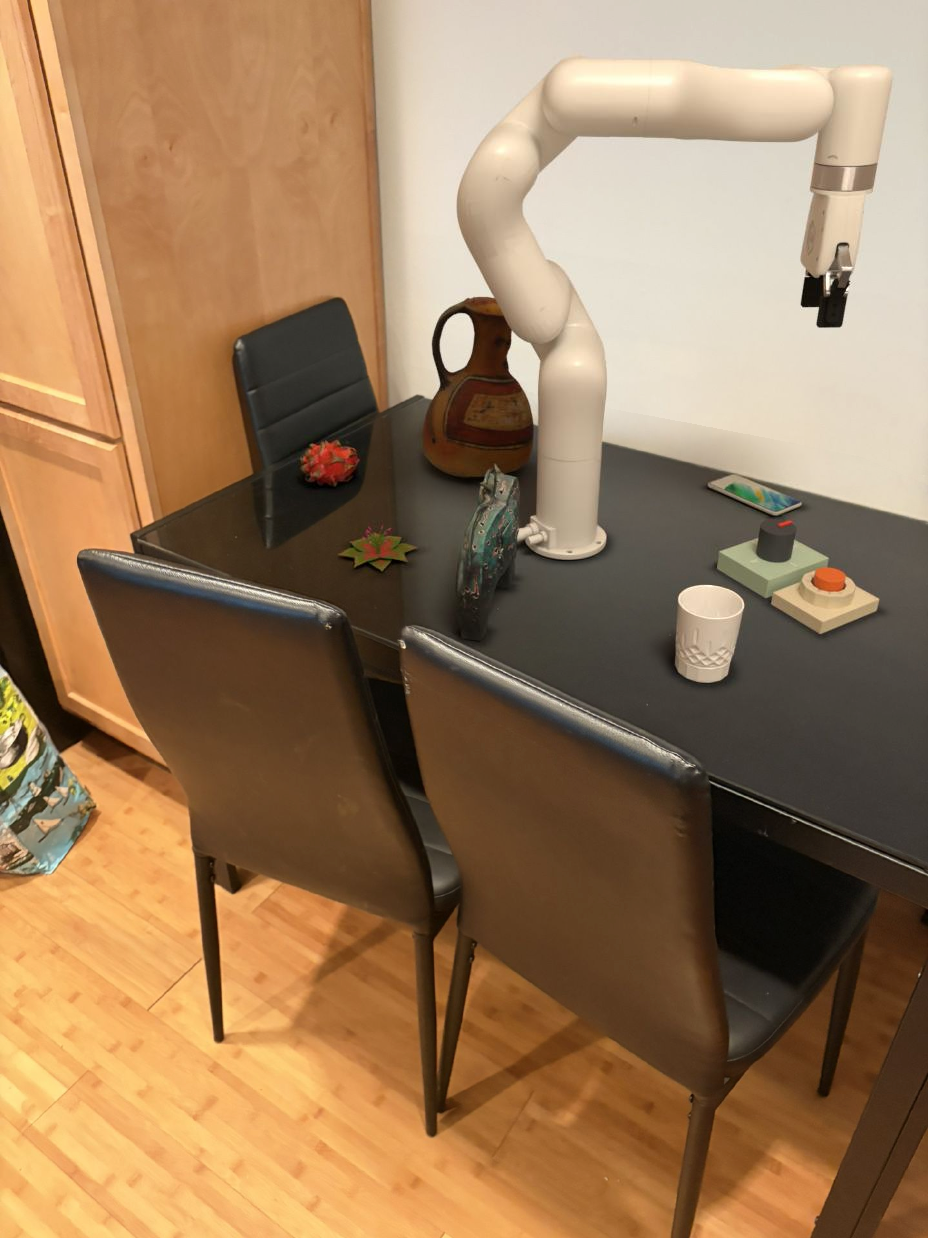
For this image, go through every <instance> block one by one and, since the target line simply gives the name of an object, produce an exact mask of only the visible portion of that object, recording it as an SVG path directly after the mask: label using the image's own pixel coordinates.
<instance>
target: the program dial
mask: <svg viewBox="0 0 928 1238" xmlns="http://www.w3.org/2000/svg"><path fill="white" fill-rule="evenodd" d="M796 535H797V526H796V525H795V524H794V523H793V521H792V520H790V519H789V520H784V519H780V518H777V519H776V518H771V519H766V520H763V521H762V522H761V523H760V525H759V532H758V537H757V538H758V543H757V549H756V554H757V556H758V557H760V558H761V559H763V560H766V561H769V562H785V561H788V560H789V559H790V558H791V556H792V551H793V546H794V540H796Z"/></svg>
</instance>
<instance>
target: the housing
mask: <svg viewBox="0 0 928 1238" xmlns="http://www.w3.org/2000/svg"><path fill="white" fill-rule="evenodd" d="M814 575H815V571H812V572H809V573H807V574H805V575H804V576H803V578H802V580H801V582H799V583H797V584H794V585H791V586H789V587H786V588H783V589H781V590H778V591H775V592H773V595H772V596H771V602H770V605H771V606H772V607H775V608H776V609H778V610H780V611H782V612H783V613H785V614H787V615H788V616H790V617H791V618H793V619H795V620H796V621H798V622H799V623H801V624H802V625H804V626H806V627H808V628H809V629H811V630H812V631H814V632H816V633H817V634H819V635H821V634H824V633H827V632H829V631H832V630H833V629H836V628H840V627H841V626H844V625H846V624H848V623H851V622H854V621H855V620H858V619H860V618H863V617H866V616H868V615H870V614H873V613H875V612H877V611H878V606H879V602H880V598H879V597H877V596H875V595H873V594H871V593H869V592H867V591H865V590H864V589H862V588H860V587H859V586H857V585H856V584H855V583H854V581H853V580H852V579H851V578H850V577H848V576H846V579H845V583H844V588H843V590H841V591H839V592H828V591H823V590H820V589H818V588H816V587H815V586H814V585H813V580H814Z"/></svg>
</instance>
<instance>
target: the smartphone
mask: <svg viewBox="0 0 928 1238" xmlns="http://www.w3.org/2000/svg"><path fill="white" fill-rule="evenodd" d="M707 487H708V489H712V490H714V491H716V492H719V493H721V494H723V495H725V496H728V497H730V498H732V499H734V500H736V501H739V502H741V503H744V504H746V505H748V506H750V507H752V508H754V509H756V510H759V511H761V512H762V513H766V514H768V515H770V516H773V517H778V516H780V515H783V514H784V513H787V512H790V511H792V510H795V509H798V508H799V507H801V506H802V501H801V500H799V499H797V498H795V497H792V496H790V495H787V494H785V493H782V492H780V491H778V490H775V489H772V488H770V487H768V486H766V485H763V484H760V483H758V482H756V481H753V480H751V479H749V478H746V477H745V476H742V475H739V474H736V473H730V474H728V475H725V476H722V477H719V478H716V479H713V480H711V481H708V483H707Z"/></svg>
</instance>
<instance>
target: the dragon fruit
mask: <svg viewBox="0 0 928 1238" xmlns="http://www.w3.org/2000/svg"><path fill="white" fill-rule="evenodd" d="M308 447H310V448H305V449H304V453H303V454H301V457H300V458H299V460H300V465H301V466H299V469H300V471H301V472H302V474H304V475H305V478H304V481H306V482H308V483H313V482H314V483H315V481H316V483H317V484H318V485H319V486H323V484H327V486H330V487H331V486H332V487H333V488H335V487H336V486H337V485H338V483H340V482H341V483H342V482H344V483H348V482H349V481H350V480H351V479H352V478H353V477H354V476H353V475H352V474H353V473H354V472H355V470H356V469H357V467H358V464H359V462H360V461H361V454H360V453H358V450H357V449H356V448H354V447H350V446H342V444H341V442H340V440H337V439H335V440H334V441H332V442H331V443H329V442H328V440H326V439H325V440H323V441H321V442H319V443H318V444H315V443H309V445H308ZM308 477H309V478H308Z"/></svg>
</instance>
